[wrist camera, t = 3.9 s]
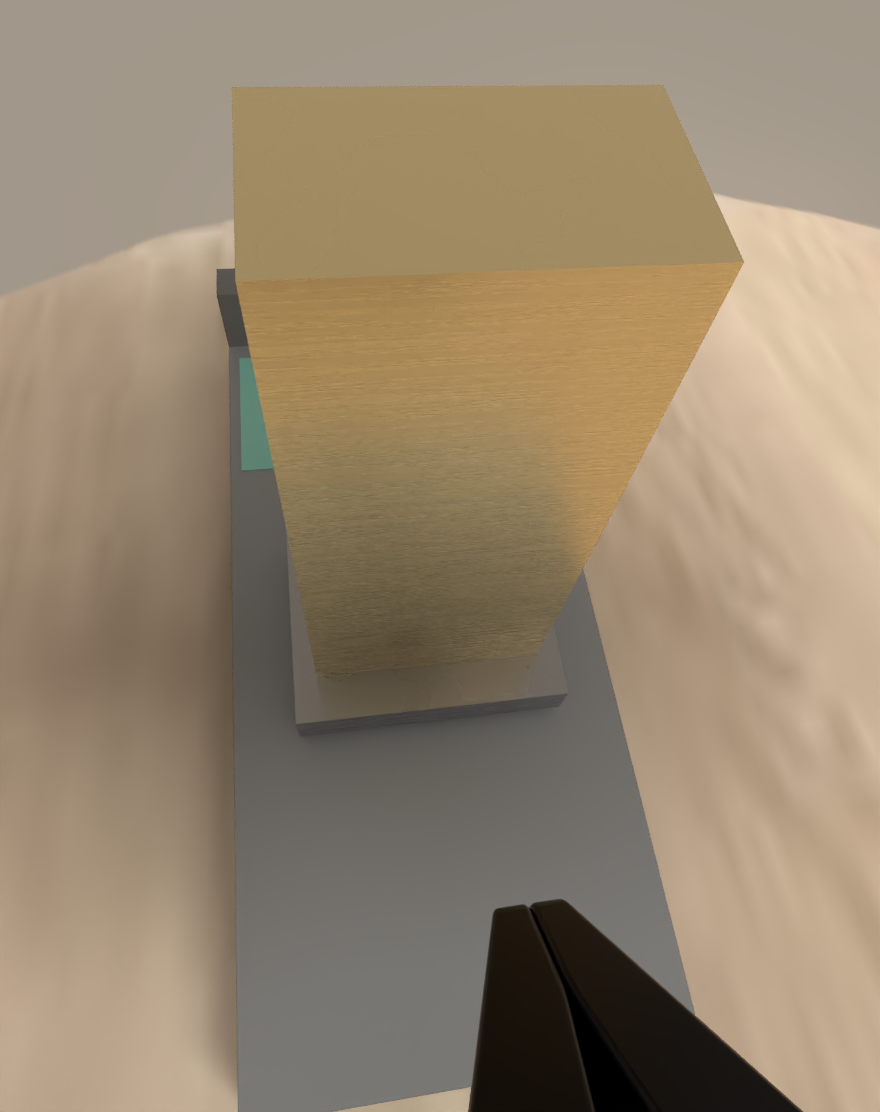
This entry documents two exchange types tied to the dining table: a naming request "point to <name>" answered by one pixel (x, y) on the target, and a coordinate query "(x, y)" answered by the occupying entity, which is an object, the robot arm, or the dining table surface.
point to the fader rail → (403, 837)
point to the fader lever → (459, 366)
